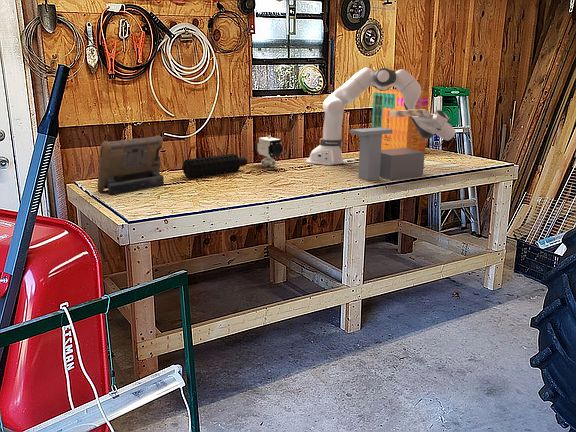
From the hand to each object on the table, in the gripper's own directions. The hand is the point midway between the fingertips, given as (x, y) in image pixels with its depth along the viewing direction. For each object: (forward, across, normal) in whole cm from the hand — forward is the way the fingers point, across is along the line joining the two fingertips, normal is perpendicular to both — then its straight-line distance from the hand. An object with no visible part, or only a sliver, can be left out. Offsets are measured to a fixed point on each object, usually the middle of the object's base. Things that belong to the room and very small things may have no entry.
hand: (419, 111), depth 307 cm
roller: (+68, -49, +79) cm, 115 cm away
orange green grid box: (-54, -64, +8) cm, 84 cm away
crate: (-6, 0, +36) cm, 36 cm away
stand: (+11, 0, +45) cm, 47 cm away
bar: (+5, 0, +5) cm, 7 cm away
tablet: (+111, -36, +103) cm, 156 cm away
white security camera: (+38, -55, +61) cm, 90 cm away
